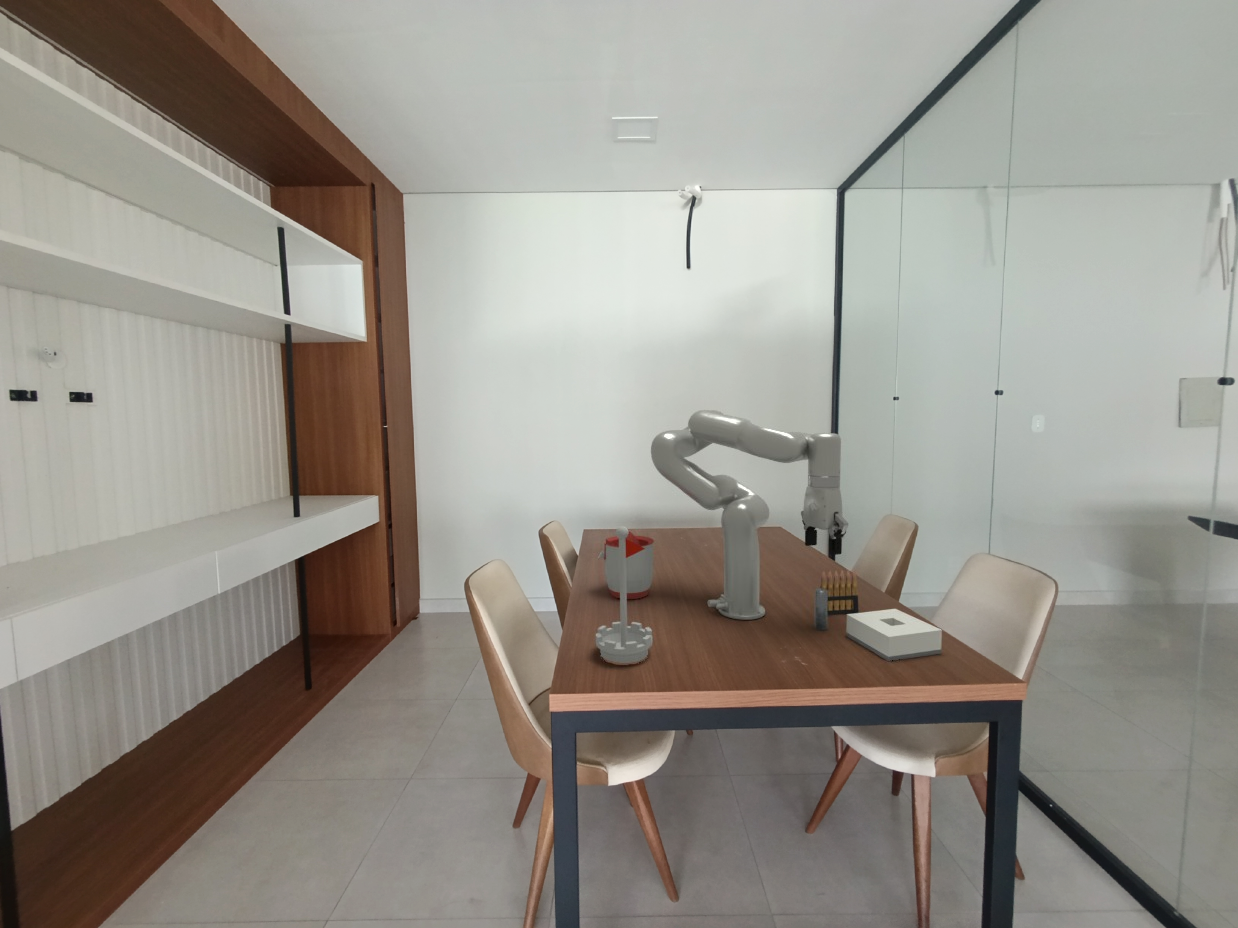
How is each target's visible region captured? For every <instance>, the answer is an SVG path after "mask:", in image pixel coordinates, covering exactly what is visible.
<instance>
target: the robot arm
mask: <svg viewBox="0 0 1238 928" xmlns="http://www.w3.org/2000/svg"><path fill="white" fill-rule="evenodd" d="M689 417H690V418H689V419H688V422H687V426H686V427H685V428H682V429H676V430H664V431H662V432H660V433H659V434H657V435H656V436H655V437H654V438H653V440H652V442H651V447H650V454H651V455H650V456H651V460H652V463H653V466H654V467H655V469H656V470H657V472H658V473H659V474H660V475H661V476H662V477H664V479H666V480H667V481H668V482H670V483H671V484H672V485H674V486H675V487H677V489H679V490H680V491H681V492H682V493H684V494H685V495H687V497H688V498H690V499H691V500H693V501H694V502H696V503H697V504H698V505H699V506H701V507H702V508H703V509H706V510H708V511H716V510H719V509H721V508H722V509H723V511H722V514H721V520H720V522H721V531H722V536H723V560H724V561H723V579H724V580H723V587H724V589H723V593H724V594H723V593H721V594H720V597H718V598H717V599H708V600H707V606H708V608H714V607H715V608H716V610H718V612H719V613H720V615H722V616H724V617H727V618H729V619H735V620H740V621H741V620H743V621H746V620H747V621H748V620H749V621H751V620H757V619H760V618H762V617H763V616H765V614H766V609H765V606H763V605H762V604H760V543H759V537H758V529H760V528H761V527H762V526H764V525H765V524H767V522H768V520H769V518H770V508H769V505H768V504H767V502H766V501H765V500H764V499H763V498H762V497H761V496H760V495H758V494H757V493H756V492H754V491H752V490H751V489H750V488H748V487H747V486H746V485H744V484H743V483H742V482H740V481H738V480H737V479H736V478H734V477H732V476H730V475H726V474H718V475H717V474H716V475H712V474H710V473H708V472H706V471H705V470H704V469H702V468H701V467H699V466H698V465H697V464H695V463H694V462H692V461H690V460H688V459H687V458H689V457H691V456H693V455H695V454H697V453H699V452H700V451H702V450H704V449H705V448H707V447H708V446H710V445H712V444H715V445H719V446H723V447H727V448H729V449H734V450H737V451H740V452H743V453H746V454H749V455H752V456H755V457H758V458H762V459H766V460H769V461H773V462H777V463H780V464H790V463H795V462H800V461H806V460H807V486H806V489H805V494H804V499H803V510H801V511H800V515H801V519H802V520H801V522H802V524H803V530H804V545H805V546H806V547H810V546H812V547H813V546H817V544H818V530H822V531H826V530H827V532H828V534H829V536H830V538H828V555H830V556H835V555H837V556H838V555H841V554H842V549H843V548H842V547H843V544H842V543H843V539H844V537H845V535H846V533H847V530H848V528H849V523H848V521H847V520H846V519H844V517H843V500H842V499H843V498H842V492H841V461H842V460H841V459H842V457H841V453H842V452H841V451H842V450H841V449H842V438H841V436H840V435H839V434H837V433H835V432H832V433H831V432H828V433H827V432H826V433H825V432H821V433H820V432H819V433H818V432H817V433H806V432H801V431H800V432H799V431H798V432H795V431H794V432H793V431H792V432H783V431H778V430H773V429H770V428H766V427H761V426H758V425H755V424H754V423H752V422H751V421H750V420H748V419H746V418H741V417H738V416H732V415H728V414H724V413H723V412H721V411H718V410H714V409H713V410H712V409H710V410H709V409H703V410H697V411H695V412H693V414H692V415H690V416H689ZM817 529H818V530H817Z"/></svg>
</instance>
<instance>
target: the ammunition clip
mask: <svg viewBox="0 0 1238 928" xmlns="http://www.w3.org/2000/svg"><path fill="white" fill-rule="evenodd" d="M826 577H827V578H826ZM857 582H858V581H857V571H856V570H855V569H853V571H852V574H851V573H850V570H849V569H847V571H846V574H845V573H844V570H841V571H840V574H838V571H837V570H835V572H834V575H833V576H832V571H830V570H828V574H827V576H826V572H825V571H824V570H823V571H822V573H821V578H820V586H819V588H823V589H826V590H828V600H827V616H832V615H833V616H836V615H838V616H839V615H847V614H855V613H860V612H859V595H858V583H857Z"/></svg>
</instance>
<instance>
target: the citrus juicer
mask: <svg viewBox="0 0 1238 928" xmlns="http://www.w3.org/2000/svg"><path fill="white" fill-rule="evenodd" d="M628 532H629V533H628V536H627V537H626V539H627V540H629V541H631V542H633V543H635V544H637V545H639V546H641V547H643V548H645V549H644V550H642V551H640V552H638V553H636V554H634V555H632V556H629V557H627V558H626V591H627V600H635V599H638V598H640V599H643V598H644V597H646V596H647V595H648V594H649V592H650V589H651V585H652V581H653V577H654V576H653V575H654V542H655V540H654V539H652V537H648V536H644V535H643V536H642V535H635V534H633V533H632V532H631V531H630V530H628ZM597 559H603V560H604V575H605V580H606V584H607V589H608V591H609V593H610V595H611V596H612V597H614V598H615V599H617V598H620V570H619V538H618V537H617V536H610V537H608V538H606V539H605V543H604V550H601V551H600V553H599V555H598V556H597ZM642 597H643V598H642Z"/></svg>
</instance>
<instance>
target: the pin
mask: <svg viewBox="0 0 1238 928" xmlns="http://www.w3.org/2000/svg"><path fill="white" fill-rule="evenodd" d="M827 600H828V590H826V589H823V588H820V587H819V588H815V589H814V630H817V631H828V615H827Z"/></svg>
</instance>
